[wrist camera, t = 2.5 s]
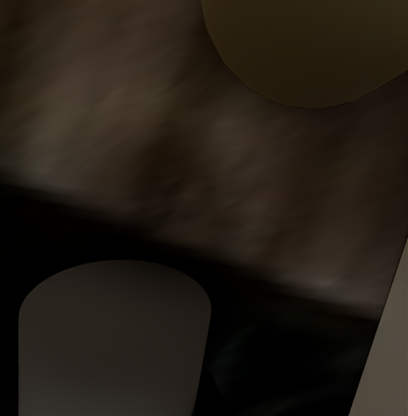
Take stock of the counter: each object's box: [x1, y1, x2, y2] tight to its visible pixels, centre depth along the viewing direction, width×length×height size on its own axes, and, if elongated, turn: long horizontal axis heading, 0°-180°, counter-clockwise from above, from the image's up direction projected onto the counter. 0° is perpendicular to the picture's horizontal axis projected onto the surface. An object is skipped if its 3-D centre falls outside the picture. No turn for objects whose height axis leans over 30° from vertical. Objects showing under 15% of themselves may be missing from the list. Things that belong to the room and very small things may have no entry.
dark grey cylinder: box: [19, 260, 211, 416], centre depth 7 cm, size 6×4×4 cm, turn 171°
